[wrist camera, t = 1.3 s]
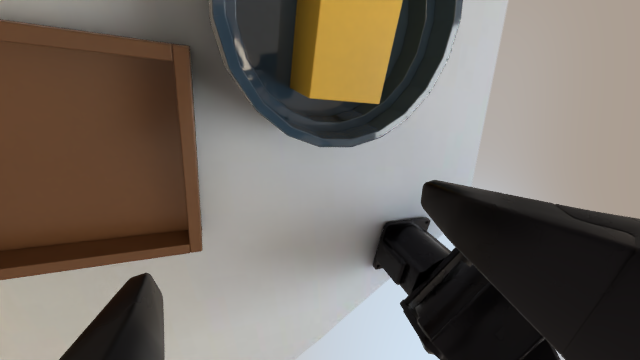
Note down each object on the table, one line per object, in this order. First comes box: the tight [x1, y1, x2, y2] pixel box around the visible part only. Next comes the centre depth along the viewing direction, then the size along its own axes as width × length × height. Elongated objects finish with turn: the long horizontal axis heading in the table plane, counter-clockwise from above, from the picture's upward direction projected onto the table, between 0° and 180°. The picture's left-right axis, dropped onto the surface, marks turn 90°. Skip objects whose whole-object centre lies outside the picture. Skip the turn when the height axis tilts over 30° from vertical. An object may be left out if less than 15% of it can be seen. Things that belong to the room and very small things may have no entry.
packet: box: [290, 0, 403, 104], centre depth 16 cm, size 5×9×4 cm, turn 170°
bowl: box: [209, 0, 463, 147], centre depth 16 cm, size 15×15×4 cm
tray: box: [0, 19, 202, 280], centre depth 15 cm, size 14×14×2 cm
